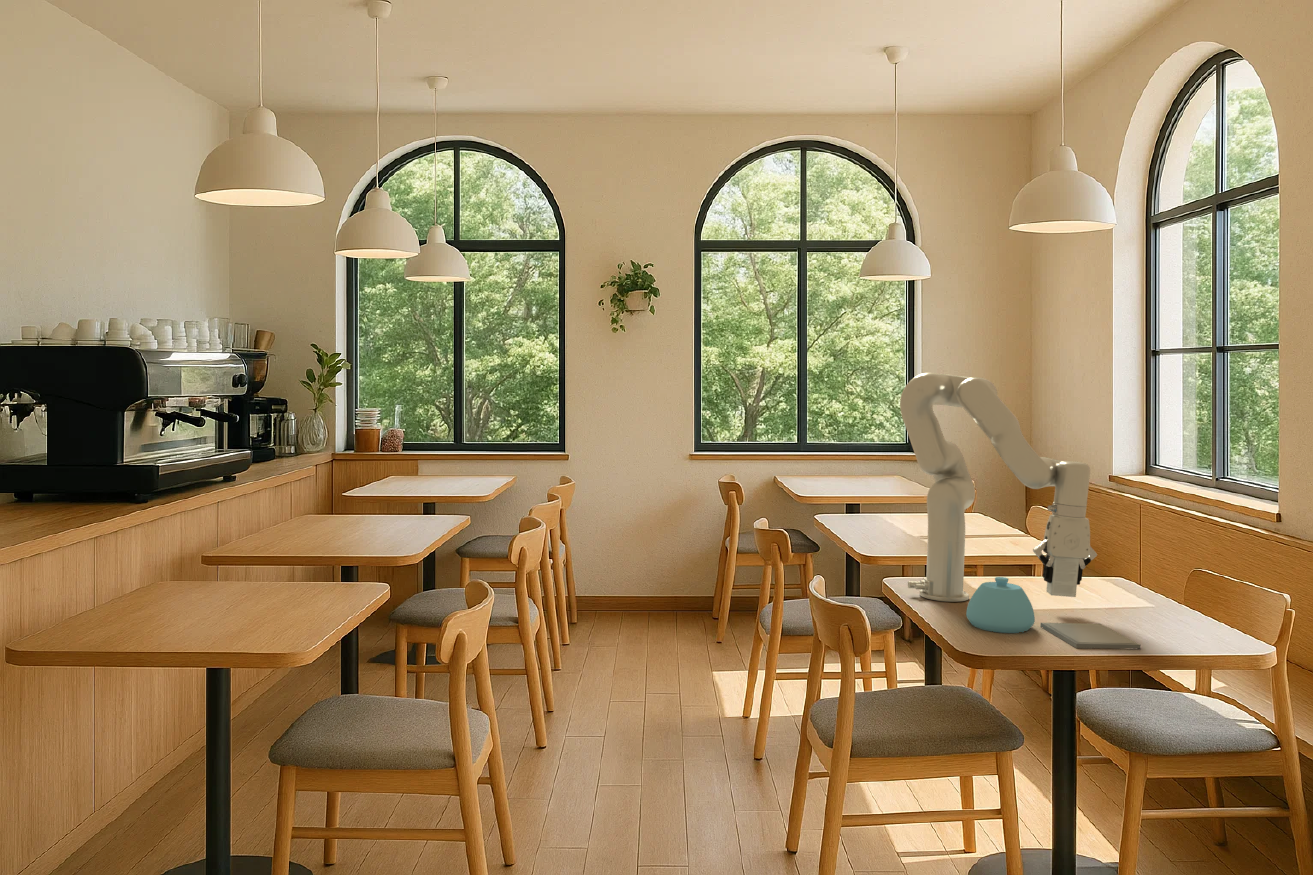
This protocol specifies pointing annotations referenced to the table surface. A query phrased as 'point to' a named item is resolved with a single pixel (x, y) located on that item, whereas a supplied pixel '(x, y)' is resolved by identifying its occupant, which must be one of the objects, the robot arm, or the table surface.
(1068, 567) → the skincare box
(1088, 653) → the table surface
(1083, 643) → the slate board
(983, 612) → the sugar bowl
